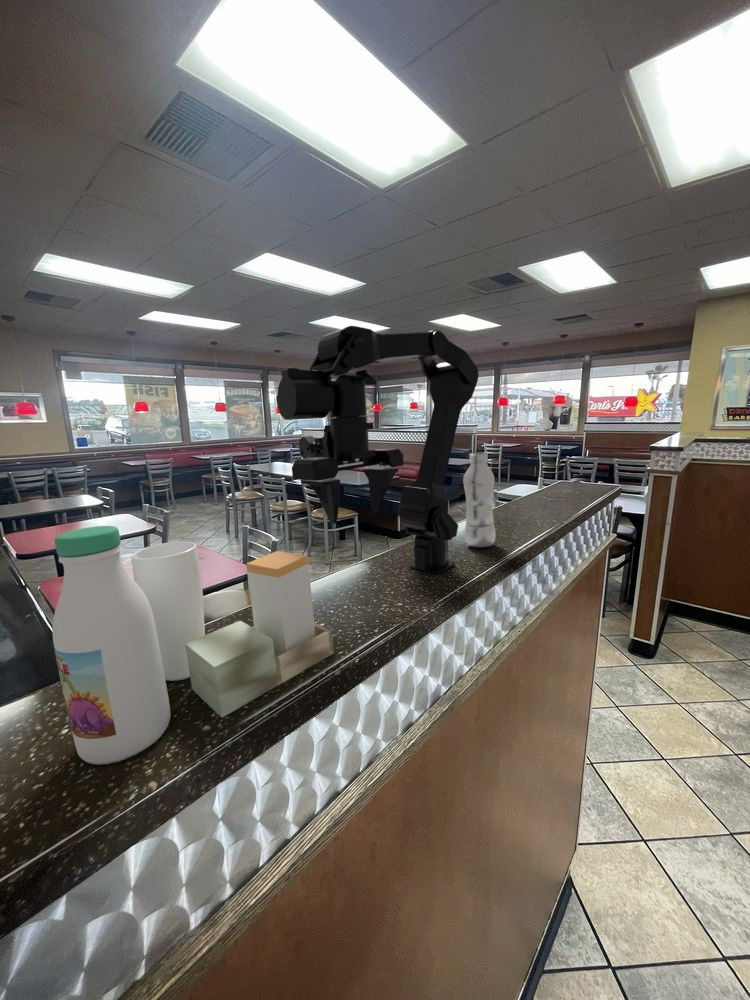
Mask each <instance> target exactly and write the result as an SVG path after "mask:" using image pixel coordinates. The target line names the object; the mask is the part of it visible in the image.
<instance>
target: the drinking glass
mask: <svg viewBox="0 0 750 1000" xmlns="http://www.w3.org/2000/svg"><path fill="white" fill-rule="evenodd" d="M131 564H132V572H133V580H134V581H135V582H136V583H137V585H138V586H139V587H140V588H141V590H142V591H143V592H144V594H145V596H146V597H147V599H148V602H149V604H150V607H151V610H152V613H153V618H154V622H155V626H156V631H157V637H158V642H159V647H160V653H161V658H162V664H163V670H164V675H165V681H169V682H174V681H175V682H176V681H183V680H186V679H188V678H190V672H189V666H188V660H187V654H186V647H185V643H188V642H190V641H192V640H195V639H197V638H200V637H202V636H204V635H206V634H205V633H206V631H205V630H206V629H205V614H204V611H205V609H204V593H203V588H204V587H203V578H202V577H203V576H202V569H201V568H202V567H201V562H200V558H199V552H198V546H197V544H196V543H195V542H192V541H186V540H184V541H183V540H182V541H181V540H180V541H170V542H169V541H168V542H163V543H157V544H153V545H149V546H145V547H144V548H141V549H138V550H137V551H135V552H134V553H132V555H131Z"/></svg>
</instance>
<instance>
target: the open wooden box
mask: <svg viewBox="0 0 750 1000" xmlns="http://www.w3.org/2000/svg"><path fill="white" fill-rule="evenodd" d="M314 626H315V637H314V638H312V639H310V640H308V641H306V642H304V643H302V644H301V645H299V646H297V647H295V648H293V649H291V650H289V651H287V652H285V653H283V654H281V655H279V656H277V657H276V656H275V653H274V645H273V639H272V638H270V637H268V636H266V635H265V634H263V633H261V632H259V631H258V630H256V629H254V627H253V626H251V625H249V624H247V623H245V622H244V621H242V620H239V621H236V622H234V623H231V624H229V625H227V626H223V627H222V628H220V629H217V630H214V631H212V632H210V633H207V634H205V635H204V636H202V637H200V638H197V639H195V640H192V641H190V642H188V643H185V647H186V654H187V660H188V666H189V672H190V677H189V678H190V685H191V689H192V691H193V692H194V693H195V694H196V695H198V697H200V698H201V700H203V701H204V702H205V703H206V704H207V705H208V706H209V707H210V708H211V709H212V710H213V711H214V712H215V713H216V714H217V715H218V716H219V717H220V718H224V717H226V716H227V715H229V714H231V713H233V712H235V711H236V710H238V709H240V708H242V707H243V706H245V705H247V704H248V703H250V702H252V701H253V700H255V699H257V698H259V697H261V696H262V695H264V694H265V693H267V692H269V691H271V690H272V689H274V688H276V687H278V686H280V685H281V684H283V683H285V682H286V681H288V680H290V679H291V678H294V677H295V676H297V675H299V674H301V673H303V672H304V671H306V670H308V669H309V668H311V667H313V666H315V665H316V664H318V663H320V662H321V661H323V660H325V659H326V658H328V657H330V656H333V654H334V652H335V651H334V640H333V630H331V629H329V628H326V627H325V626H322V625H320V624H318V623H315V622H314ZM314 664H315V665H314ZM312 665H313V666H312ZM310 666H311V667H310ZM308 667H309V668H308ZM307 668H308V669H307ZM305 669H306V670H305Z"/></svg>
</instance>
